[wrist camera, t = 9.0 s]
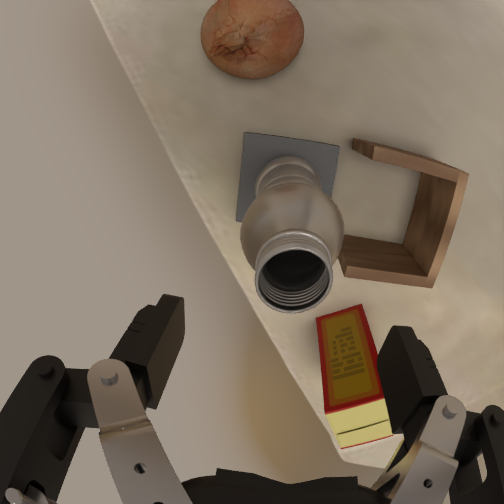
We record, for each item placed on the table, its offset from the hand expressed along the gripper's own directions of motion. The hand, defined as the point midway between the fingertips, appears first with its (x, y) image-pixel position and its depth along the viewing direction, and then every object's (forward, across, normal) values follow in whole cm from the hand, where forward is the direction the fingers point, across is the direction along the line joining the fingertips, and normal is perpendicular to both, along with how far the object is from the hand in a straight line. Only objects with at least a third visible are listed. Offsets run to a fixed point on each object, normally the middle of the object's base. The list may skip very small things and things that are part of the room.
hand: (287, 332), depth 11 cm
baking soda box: (+24, -12, +20) cm, 34 cm away
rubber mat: (+24, 0, 0) cm, 24 cm away
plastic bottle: (+24, 0, 0) cm, 24 cm away
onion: (+24, +5, -15) cm, 29 cm away
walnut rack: (+24, -11, 0) cm, 26 cm away
